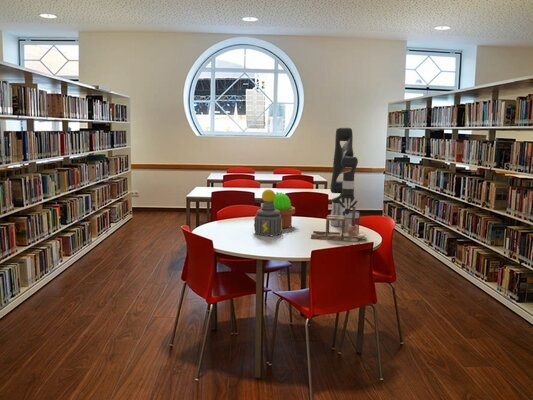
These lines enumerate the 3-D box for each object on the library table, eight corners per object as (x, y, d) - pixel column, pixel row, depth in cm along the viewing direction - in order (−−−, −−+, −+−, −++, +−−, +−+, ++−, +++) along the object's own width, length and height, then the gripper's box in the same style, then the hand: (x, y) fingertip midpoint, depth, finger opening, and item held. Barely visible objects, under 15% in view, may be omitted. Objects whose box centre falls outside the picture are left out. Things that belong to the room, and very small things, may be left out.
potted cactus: (292, 229, 337) (293, 194, 334) (262, 228, 341) (262, 193, 338) (296, 223, 359) (297, 190, 355) (267, 222, 362) (268, 189, 359)
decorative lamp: (279, 237, 314) (280, 191, 309) (251, 235, 317) (251, 190, 313) (284, 231, 332) (284, 188, 328) (257, 229, 335) (258, 187, 331)
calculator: (343, 234, 326) (344, 212, 323) (341, 232, 330) (342, 211, 328) (359, 233, 328) (360, 212, 326) (356, 232, 332) (357, 211, 330)
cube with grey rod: (340, 236, 308) (341, 207, 306) (340, 234, 317) (342, 205, 314) (365, 238, 305) (366, 208, 302) (365, 235, 314) (366, 206, 311)
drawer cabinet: (311, 238, 311) (311, 217, 309) (313, 234, 323) (313, 214, 321) (358, 241, 305) (358, 219, 303) (358, 237, 316) (359, 216, 314)
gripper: (358, 187, 309) (357, 213, 312) (338, 186, 312) (337, 212, 315) (358, 188, 302) (357, 215, 305) (337, 187, 305) (336, 214, 308)
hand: (347, 214), depth 310 cm, fingers closed
